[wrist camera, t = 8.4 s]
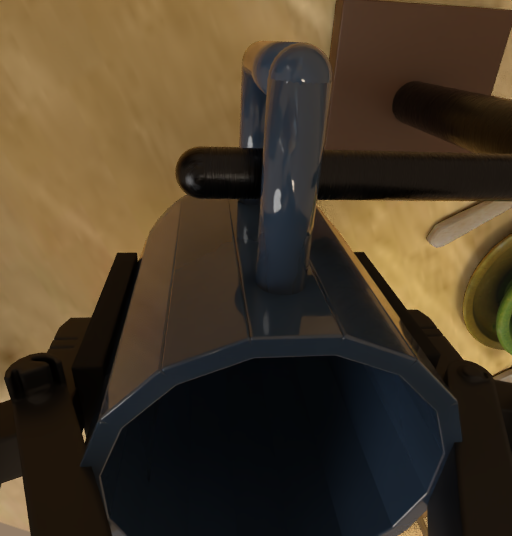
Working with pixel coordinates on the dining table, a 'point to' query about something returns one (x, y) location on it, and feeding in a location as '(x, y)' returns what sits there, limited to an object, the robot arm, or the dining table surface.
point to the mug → (266, 356)
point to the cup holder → (396, 111)
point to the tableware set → (484, 279)
